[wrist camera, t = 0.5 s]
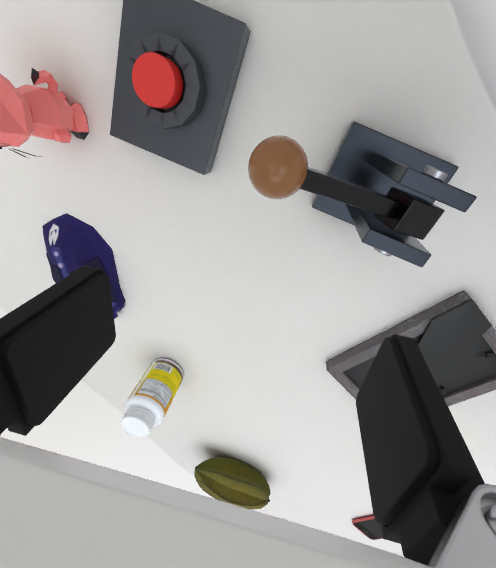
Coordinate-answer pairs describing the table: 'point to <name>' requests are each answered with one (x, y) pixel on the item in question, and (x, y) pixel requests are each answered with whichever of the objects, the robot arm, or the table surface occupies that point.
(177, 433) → the table surface
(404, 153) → the switch bracket
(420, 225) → the switch lever
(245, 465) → the fruit
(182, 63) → the grey base plate
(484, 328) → the picture frame
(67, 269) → the computer mouse
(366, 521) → the smartphone
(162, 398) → the supplement bottle
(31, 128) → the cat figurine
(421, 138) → the table surface
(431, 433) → the robot arm
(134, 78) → the button
